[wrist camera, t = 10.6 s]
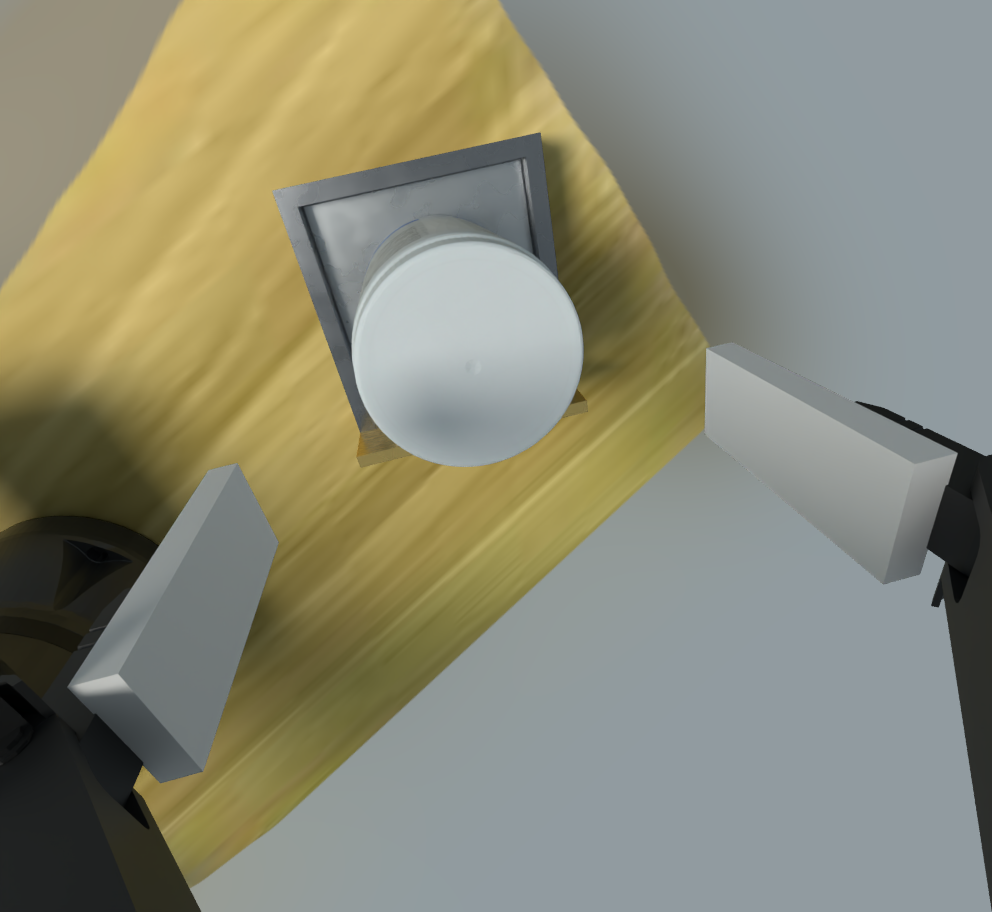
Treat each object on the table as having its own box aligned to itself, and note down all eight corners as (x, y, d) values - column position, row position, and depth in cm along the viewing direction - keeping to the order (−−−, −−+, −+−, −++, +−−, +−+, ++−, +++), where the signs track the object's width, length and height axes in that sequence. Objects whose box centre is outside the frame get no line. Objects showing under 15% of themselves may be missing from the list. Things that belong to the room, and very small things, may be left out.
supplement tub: (386, 378, 35) (379, 494, 22) (345, 228, 30) (306, 266, 17) (524, 350, 35) (594, 447, 23) (505, 199, 31) (580, 215, 18)
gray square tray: (367, 416, 39) (360, 467, 32) (288, 189, 31) (256, 192, 25) (555, 370, 40) (587, 411, 33) (523, 137, 32) (557, 127, 25)
